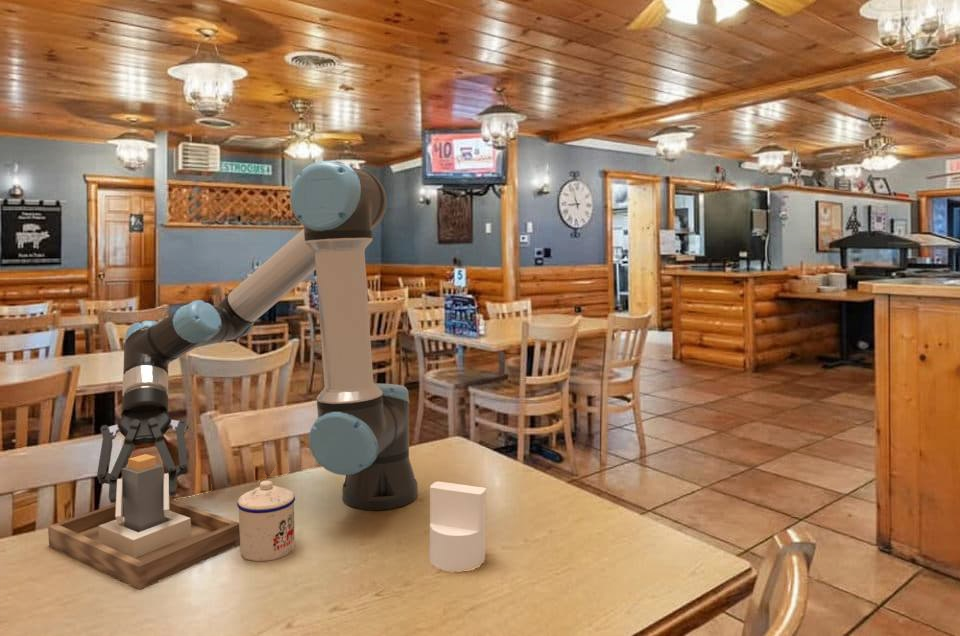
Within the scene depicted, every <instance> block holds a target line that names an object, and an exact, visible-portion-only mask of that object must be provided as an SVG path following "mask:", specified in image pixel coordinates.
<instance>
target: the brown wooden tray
mask: <svg viewBox="0 0 960 636" xmlns="http://www.w3.org/2000/svg"><path fill="white" fill-rule="evenodd" d="M170 511H172V512H175V513H178V514H180V515H183V516H186V517H189V518H191V535H190V536H188V537H185V538H183V539H180V540H178V541H175V542H173V543H171V544H168V545H166V546H163V547H161V548H158V549H156V550H153V551H151V552H149V553H146V554H144V555H141V556H139V557H136V558H133V557H130V556H128V555H126V554H124V553H121V552H119V551H117V550H115V549H112V548H110V547H108V546H106V545H103V544H101V543H100V542H99V525H102V524H105V523H108V522H110V521H113V520H116V517H115V514H116V503H113V504H110V505H108V506H105V507H103V508H98V509H95V510H93V511H89V512H87V513H84V514H83V513H82V514H80V515H78V516H75V517H71V518H69V519H65V520H63V521H60V522H56V523H53V524H50V525H48V526H47V533H48V534H47V535H48V547H50V548H52V549H54V550H57V551H58V552H61V553H63V554H64V555H67V556H69V557H71V558H73V559H75V560H77V561H79V562H82V563H83V564H85V565H87V566H90V567H92V568H93V569H96V570H98V571H100V572H102V573H104V574H106V575H108V576H110V577H112V578H115V579H116V580H118V581H121V582H123V583H125V584H127V585H129V586H131V587H133V588H136V589H137V590H140V591H141V590H142V589H144V588H146V587H149V586H150V585H153V584H156V583H157V581H158V582H160V581H162V580H165V579H166V578H168V576H169V577H171V576H173V575H175V574H177V573H179V572H181V571H184V570H185V569H188V568H190V567H192V566H195V565H197V564H199V563H202V562H204V561H206V560H208V559H210V558H212V557H214V556H216V555H219V554H221V553H223V552H225V551H228V550H230V549H232V548H234V547H237V546H240V530H239V521H237V520H233V519H230V518H227V517H224V516H222V515H218V514H215V513H212V512H209V511H207V510H203V509H201V508H198V507H195V506H192V505H189V504H187V503H183V502H180V501H179V500H174V499H171V498H170ZM123 517H124V502H123ZM159 580H160V581H159Z"/></svg>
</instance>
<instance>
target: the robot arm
mask: <svg viewBox="0 0 960 636" xmlns="http://www.w3.org/2000/svg"><path fill="white" fill-rule="evenodd" d="M385 190H386V189H385V188H384V186H383V184H382V182H380V180H379V179H378V178H377V177H376V176H375V175H374V174H372V173H370V172H368V171H367V170H363V169H360V168H356V167H354V166H351V165H348V164H346V163H344V162H342V161H331V160H321V161H316V162H315V161H314V162H313V163H311V164H309V165H307V166H306V167H304V168H303V169H302V170H301V171H300V172H299V174H298V175H297V176H296V177H295V178H294V180H293V182H292V185H291V189H290V195H289V201H290V206H291V210H292V212H293V214H294V217H295V218H296V219H297V220H298V221H299V223H300V224H301V225H302V226H303V228H302V229H301V231H299V232H298V233H297V234H295V235H294V236H293V237H292V238H291V239H290V240H289V241H287V242H286V243H285V244H284V245H283V246H282V247H280V249H279V250H278V251H276V252H275V253H274V254H273V255H272V256H270V257H269V259H267V260H266V261H265V262H264V263H262V264H261V265H260V266H259V267H258V268H257V269H256V270H254V271H253V272H252V273H251V274H250V275H249V276H248V277H246V278H245V279H244V280H243V281H242V282H241V283H240V284H239V285H237V286H236V287H235V288H234V289H233V290H231V291H230V292H229V293H228V294H227V295H226V296H225V297H224V298H223V299H221V300H220V301H219V302H218V303H216V304H214V305H212V304H211V303H208V302H205V301H204V300H201V299H200V300H197V299H196V300H194V301H192V302H191V301H190V303H188V304H186V305H182V306H180V307H179V308H178V309H177V310H176V311H174V312H173V313H171V314H169V315H168V316H167V317H165V318H164V319H162V320H160V321H159V322H158V321H155V320H143V321H142V322H139V321H137V322H135V323H132V324H131V325H130V326H129V327H128V328H127V330H126V332H125V339H124V342H123V343H124V345H123V376H122V392H121V393H122V397H121V412H120V413H121V416H120V419H119V421H118V422H117V423H116V424H115V425H110V426H108V425H106V424H103V425H101V427H100V433H101V436H102V442H101V446H100V447H101V449H100V454H99V461H98V466H97V467H98V468H97V472H96V475H97V479H98V482H99V484H101V485H103V484H107V485H109V486H108V499H109V502H110V503H111V504H116V514H115V517H116V521H117V523H123V499H124V495H123V479H122V468H126V467H128V465H129V461H128V459H129V458H132V457H131V456H132V455H133V452H134V451H135V449H136V447H137V446H141V445H144V444H148V445H149V444H150V445H151V444H154V445H155V447H156V449H157V451H158V453H159V456H160V458H161V462H162V464H163V466H164V468H165V470H166V472H167V473H164V516H165V517H167V516H170V499H171V498H170V497H171V496H176V495H177V493H178V489H177V488H178V481H177V480H178V477H180V476H181V475H187V474H188V472H189V465H188V457H187V448H186V441H185V439H186V438H185V435H186V432H187V430H188V426H187V425H188V423H187V419H185V418H180V419H179V420H176V419H172V417H170V414H169V364H170V363H171V362H173V361H175V360H177V359H179V358H180V357H182V356H183V355H185V354H187V353H188V352H190V351H192V350H195V349H196V348H201V347H205V346H210V345H214V344H217V343H221V342H226V341H234V340H239V339H240V338H242V337H245V336H246V335H248V334H249V333H250V332H251V331H252V329H253V327H254V325H255V321H257V320H258V319H259V318H260V317H262V316H263V315H264V314H265V313H266V312H267V311H269V310H270V309H271V308H272V307H274V306H275V305H276V304H277V303H278V302H279V301H280V300H281V299H283V298H284V297H285V296H286V295H288V294H289V293H290V292H291V291H292V290H294V289H295V288H296V287H297V286H298V285H299V284H301V283H302V282H303V281H304V280H305V279H306V278H308V277H309V276H310V275H311V274H313V273H314V272H315V274H316V287H317V289H316V291H317V300H318V301H317V303H318V314H319V315H318V316H319V327H320V329H319V330H320V341H321V357H322V367H323V368H322V369H323V370H322V371H323V381H324V385H323V386H324V387H323V389H322V390H321V391H320V393H318V395H317V396H316V408H317V418H316V420H315V422H314V423H313V424H312V426H311V427H310V431H309V434H308V435H309V436H308V446H309V449H310V452H311V454H312V457H313V458H314V459H315V461H316V462H317V463H318V464H319V465H321V466H322V467H323V468H324V469H325V470H326V471H328V472H330V473H333V474H336V475H340V476H345V478H344V482H343V483H342V489H341V491H342V492H341V493H342V494H341V496H342V501H343V502H344V504H346V505H348V506H350V507H352V508H355V509H359V510H367V511H385V510H391V509H396V508H401V507H404V506H407V505H409V504H411V503H413V502H414V501H415V500H416V499H417V498H418V492H419V491H418V489H419V488H418V486H419V485H418V481H417V479H416V478H415V474H414V470H413V466H412V464H411V459H410V403H411V402H410V398H409V390H408V389H407V387H406V386H404V385H401V384H392V383H376V382H374V375H373V374H374V373H373V358H372V357H373V356H372V344H371V343H372V342H371V329H370V316H369V315H370V314H369V311H370V310H369V300H368V299H369V297H368V284H367V283H368V282H367V269H366V268H367V267H366V255H365V254H366V253H365V252H366V251H365V250H366V248H367V247H368V246H369V245H370V244H371V242H373V229H374V228H375V227H376V226H377V225H378V224H379V223H380V222H381V220H382V219H383V218H384V215H385V213H386V208H387V194H386V193H387V192H386V191H385ZM170 428H172V432H173V433H174V434H176V442H177V451H178V462H179V464H178V465H175V463H174V460H173V458H172V456H171V453H170V451H169V449H168V447H167V444H166V442H165V439H164V435H165V434H166V433H167V431H168V430H170ZM119 432H120V433H121V435H123V436H124V442H123V444H122V447H121V449H120V451H119V453H118V455H117V459H116V460H115V463H114V465H113V467H112V469H111V472H109V471H110V463H111V457H112V451H113V440H115V439H116V437H117V434H118V433H119ZM416 497H417V498H416ZM415 498H416V499H415ZM413 500H414V501H413Z"/></svg>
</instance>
